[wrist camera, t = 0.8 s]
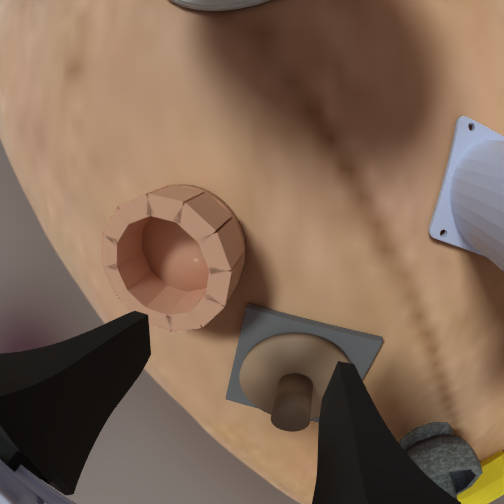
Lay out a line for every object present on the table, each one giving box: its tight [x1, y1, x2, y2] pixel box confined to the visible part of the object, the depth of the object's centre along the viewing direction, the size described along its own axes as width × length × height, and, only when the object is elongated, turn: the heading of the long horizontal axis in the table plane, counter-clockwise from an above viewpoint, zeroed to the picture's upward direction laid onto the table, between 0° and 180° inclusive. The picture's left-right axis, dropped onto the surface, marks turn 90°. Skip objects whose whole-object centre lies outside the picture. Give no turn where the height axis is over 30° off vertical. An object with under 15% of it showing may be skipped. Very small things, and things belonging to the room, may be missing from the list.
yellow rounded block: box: [457, 451, 504, 504], centre depth 22 cm, size 18×7×8 cm
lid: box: [239, 332, 351, 431], centre depth 20 cm, size 9×9×4 cm
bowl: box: [102, 185, 246, 332], centre depth 19 cm, size 8×8×4 cm
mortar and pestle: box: [400, 422, 483, 500], centre depth 18 cm, size 11×9×12 cm
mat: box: [226, 303, 383, 422], centre depth 22 cm, size 10×10×1 cm
